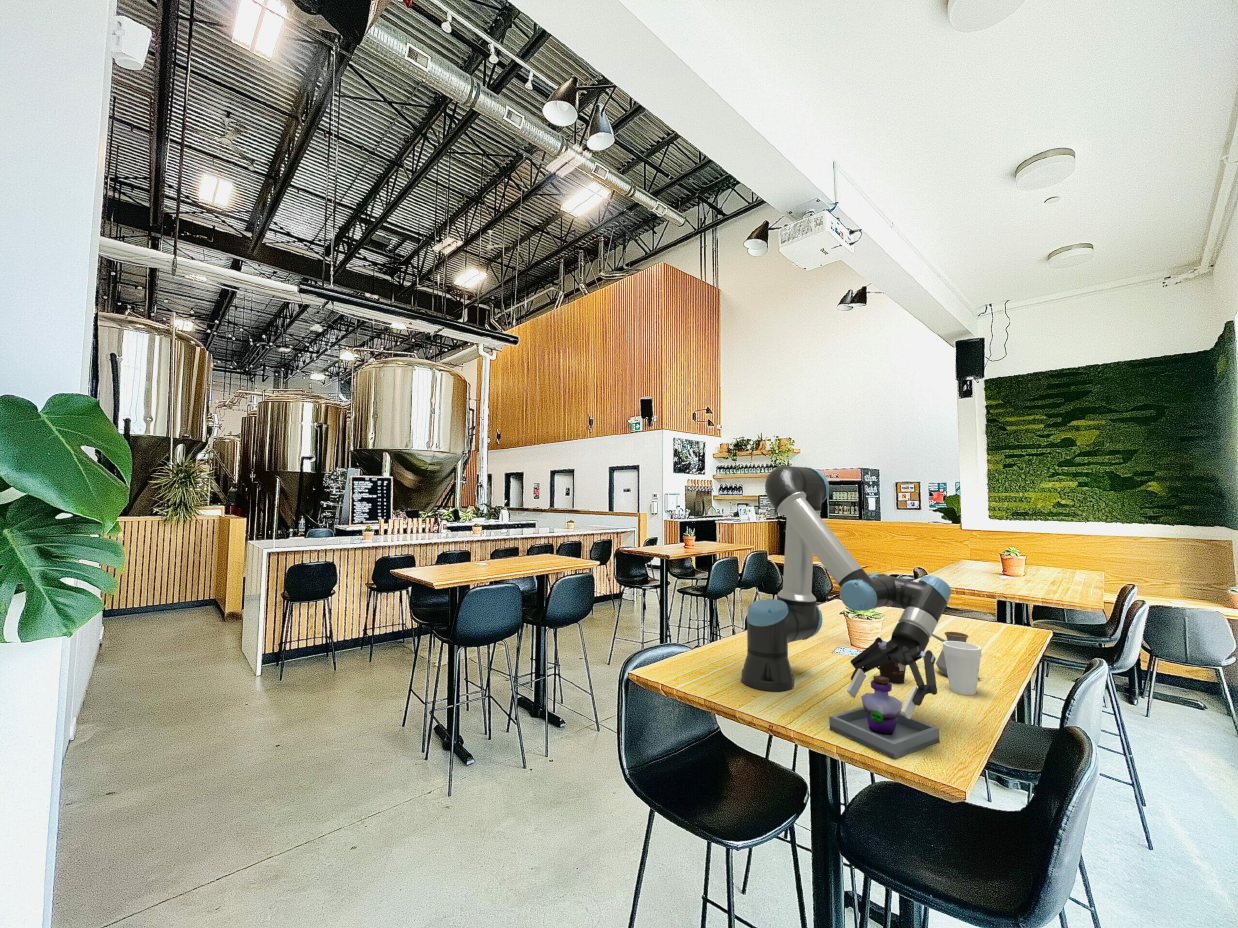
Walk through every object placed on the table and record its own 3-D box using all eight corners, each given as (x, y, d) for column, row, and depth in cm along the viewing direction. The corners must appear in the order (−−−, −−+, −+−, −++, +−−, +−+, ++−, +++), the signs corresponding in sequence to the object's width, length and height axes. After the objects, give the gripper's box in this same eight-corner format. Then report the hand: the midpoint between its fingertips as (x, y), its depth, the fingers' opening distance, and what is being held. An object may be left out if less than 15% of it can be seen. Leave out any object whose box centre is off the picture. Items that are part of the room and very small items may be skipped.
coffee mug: (900, 676, 162) (900, 643, 163) (913, 685, 154) (913, 651, 154) (862, 674, 163) (861, 641, 164) (872, 683, 155) (872, 649, 155)
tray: (829, 729, 123) (829, 715, 123) (874, 715, 131) (874, 703, 132) (894, 758, 109) (893, 744, 109) (939, 741, 117) (939, 727, 118)
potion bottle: (862, 733, 118) (861, 679, 119) (860, 719, 126) (859, 668, 127) (905, 741, 115) (904, 685, 116) (900, 725, 123) (899, 674, 124)
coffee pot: (983, 676, 164) (981, 627, 165) (975, 684, 156) (973, 633, 157) (908, 660, 179) (907, 616, 180) (897, 667, 171) (896, 621, 172)
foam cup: (985, 691, 150) (984, 645, 151) (979, 699, 143) (978, 651, 144) (947, 682, 157) (946, 639, 157) (940, 690, 150) (939, 644, 151)
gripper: (974, 653, 118) (939, 735, 110) (873, 629, 140) (837, 695, 131) (961, 632, 116) (924, 714, 108) (861, 610, 138) (823, 677, 129)
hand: (876, 704), depth 120 cm, fingers open, 13 cm apart
